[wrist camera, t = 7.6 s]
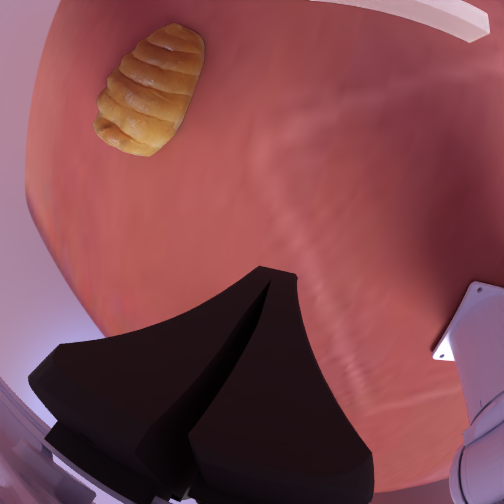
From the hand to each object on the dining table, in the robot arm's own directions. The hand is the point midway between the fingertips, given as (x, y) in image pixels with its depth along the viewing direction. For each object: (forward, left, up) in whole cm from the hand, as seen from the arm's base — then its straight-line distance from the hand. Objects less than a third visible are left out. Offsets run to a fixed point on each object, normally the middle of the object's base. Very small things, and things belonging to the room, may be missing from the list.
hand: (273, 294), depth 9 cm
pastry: (+11, -7, -10) cm, 17 cm away
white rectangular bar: (-3, -15, -9) cm, 18 cm away
